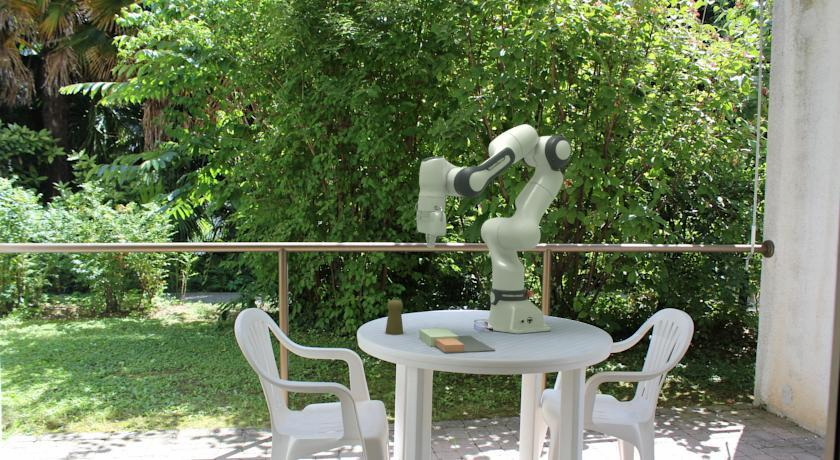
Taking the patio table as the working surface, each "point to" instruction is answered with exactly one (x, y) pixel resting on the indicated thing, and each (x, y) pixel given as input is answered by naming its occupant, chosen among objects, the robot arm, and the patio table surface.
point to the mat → (471, 345)
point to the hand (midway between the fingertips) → (430, 247)
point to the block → (449, 345)
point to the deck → (435, 335)
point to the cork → (394, 318)
